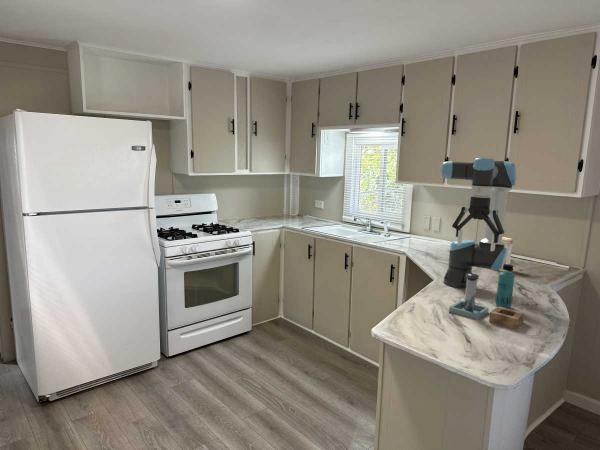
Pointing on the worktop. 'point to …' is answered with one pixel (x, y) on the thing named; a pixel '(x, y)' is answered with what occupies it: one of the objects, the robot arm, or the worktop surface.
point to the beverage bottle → (505, 287)
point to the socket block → (506, 317)
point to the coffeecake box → (507, 245)
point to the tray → (459, 309)
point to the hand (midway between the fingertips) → (475, 247)
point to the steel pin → (470, 292)
